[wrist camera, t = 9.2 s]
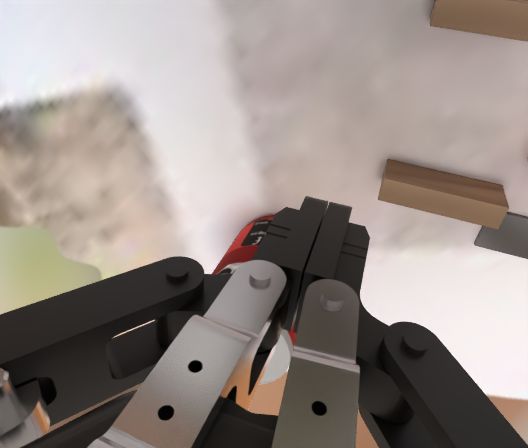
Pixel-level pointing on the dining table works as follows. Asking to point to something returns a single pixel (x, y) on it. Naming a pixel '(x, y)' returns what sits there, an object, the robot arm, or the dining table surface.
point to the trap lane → (458, 187)
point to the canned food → (233, 258)
